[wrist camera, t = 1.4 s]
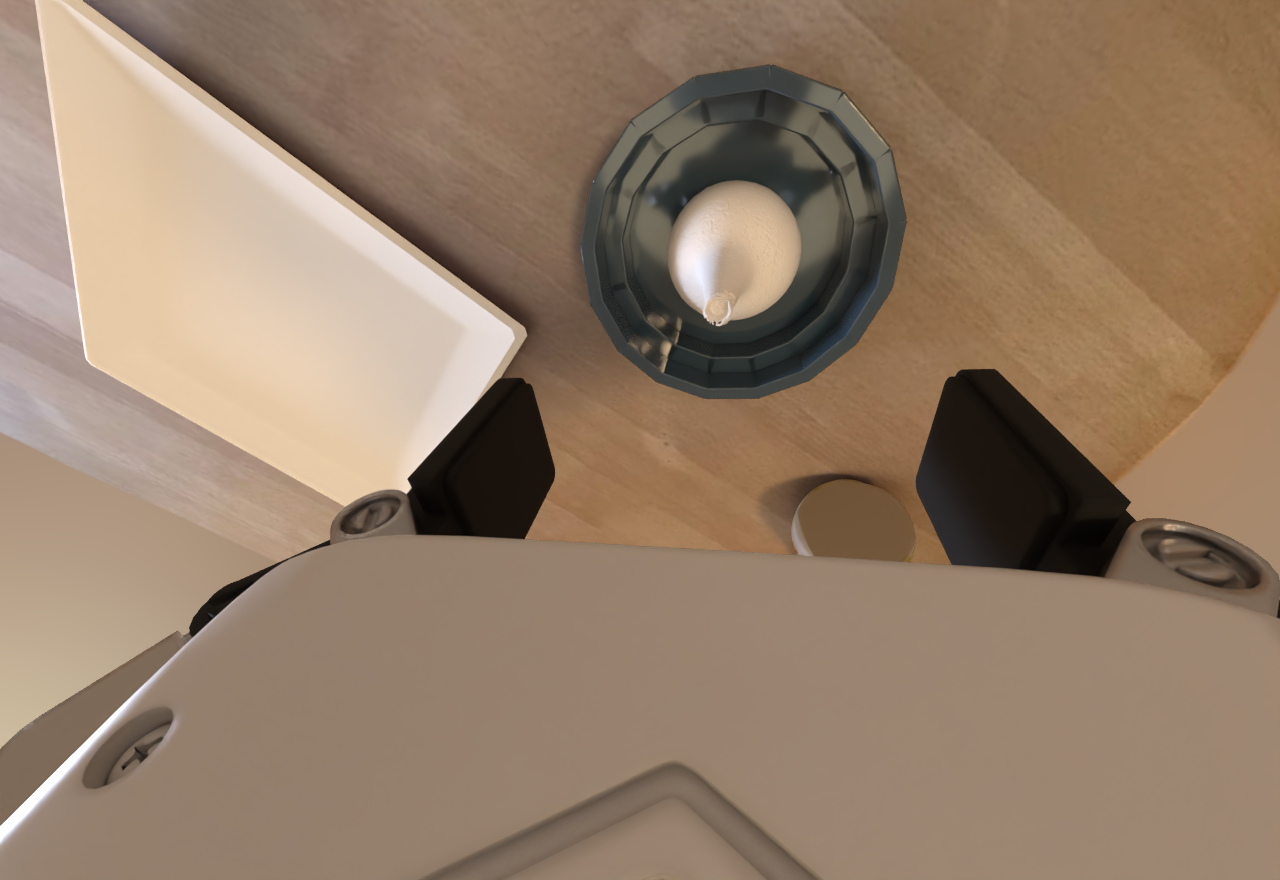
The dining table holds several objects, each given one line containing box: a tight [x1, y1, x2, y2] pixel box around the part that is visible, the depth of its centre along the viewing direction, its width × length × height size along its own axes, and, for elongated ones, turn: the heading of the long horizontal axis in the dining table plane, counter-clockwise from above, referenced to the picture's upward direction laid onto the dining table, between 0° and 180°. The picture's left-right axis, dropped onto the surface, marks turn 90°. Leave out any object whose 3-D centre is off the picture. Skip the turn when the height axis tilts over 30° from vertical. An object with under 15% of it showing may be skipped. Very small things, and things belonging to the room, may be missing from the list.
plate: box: [35, 0, 527, 507], centre depth 31 cm, size 26×26×2 cm
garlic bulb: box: [667, 180, 801, 326], centre depth 20 cm, size 6×6×8 cm
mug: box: [791, 479, 916, 562], centre depth 31 cm, size 8×10×10 cm
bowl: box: [580, 65, 907, 399], centre depth 22 cm, size 14×14×4 cm
